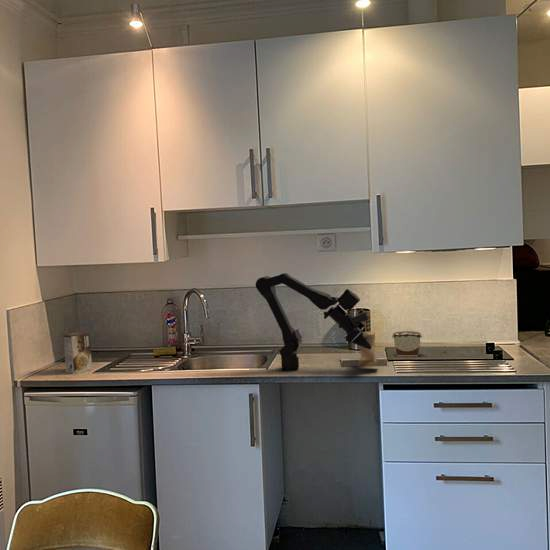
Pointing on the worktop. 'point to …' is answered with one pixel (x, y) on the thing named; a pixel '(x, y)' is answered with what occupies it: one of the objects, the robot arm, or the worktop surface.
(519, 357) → the worktop surface
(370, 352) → the tan piece
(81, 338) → the coffee box
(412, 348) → the food container
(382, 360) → the plate
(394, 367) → the worktop surface
